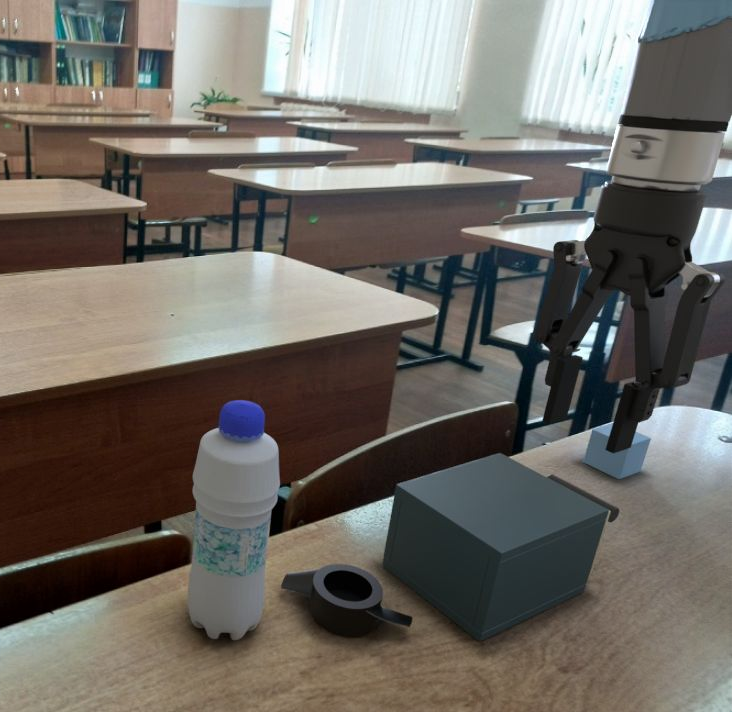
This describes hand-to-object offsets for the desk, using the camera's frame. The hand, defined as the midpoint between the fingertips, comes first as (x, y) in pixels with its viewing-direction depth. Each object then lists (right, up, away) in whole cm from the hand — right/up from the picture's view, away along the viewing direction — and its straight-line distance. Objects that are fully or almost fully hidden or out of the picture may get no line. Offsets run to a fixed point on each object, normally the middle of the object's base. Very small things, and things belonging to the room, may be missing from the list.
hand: (585, 433), depth 69 cm
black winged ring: (-24, -15, -6) cm, 29 cm away
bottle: (-34, -15, -8) cm, 38 cm away
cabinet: (-10, -13, -1) cm, 17 cm away
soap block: (+15, -6, +21) cm, 27 cm away
